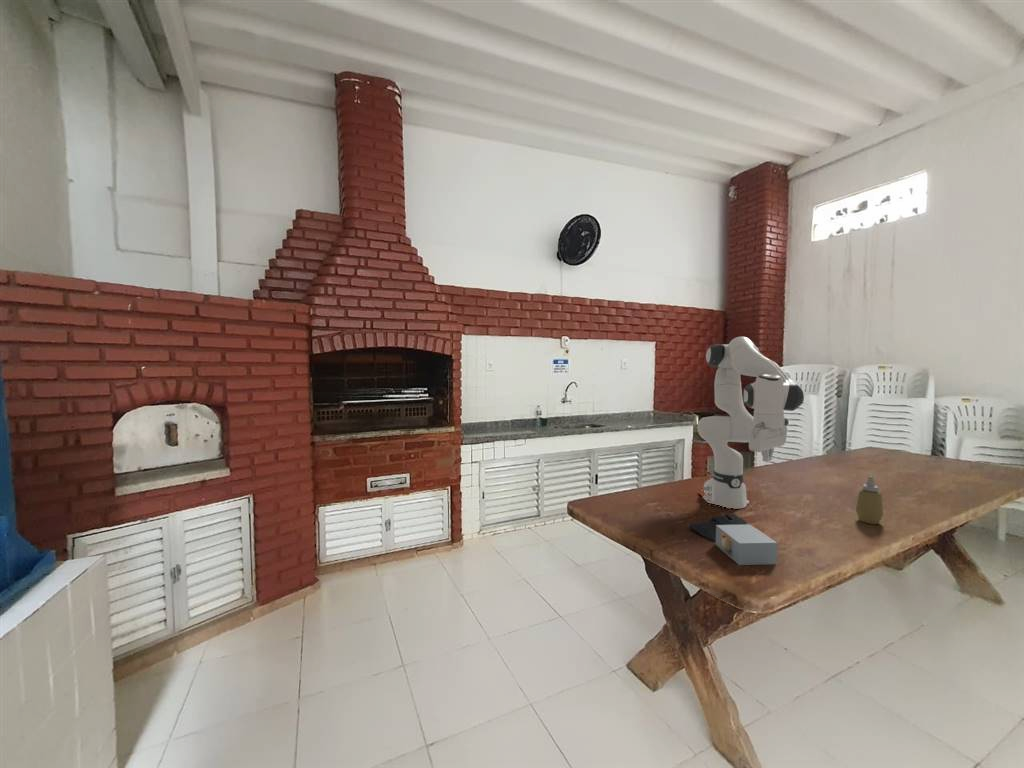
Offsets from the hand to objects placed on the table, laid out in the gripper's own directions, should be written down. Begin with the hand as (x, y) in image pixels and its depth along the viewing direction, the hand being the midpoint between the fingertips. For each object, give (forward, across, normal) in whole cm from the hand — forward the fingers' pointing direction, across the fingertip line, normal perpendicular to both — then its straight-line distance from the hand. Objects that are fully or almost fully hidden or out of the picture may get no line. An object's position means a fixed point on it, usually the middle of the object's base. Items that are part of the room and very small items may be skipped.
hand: (767, 460), depth 141 cm
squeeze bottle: (+29, +52, -16) cm, 62 cm away
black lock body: (+30, -2, +15) cm, 33 cm away
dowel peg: (+28, -15, 0) cm, 31 cm away
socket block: (+29, -14, 0) cm, 32 cm away
